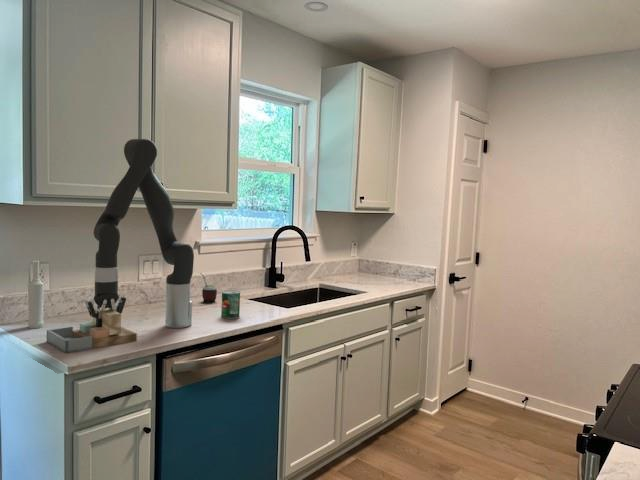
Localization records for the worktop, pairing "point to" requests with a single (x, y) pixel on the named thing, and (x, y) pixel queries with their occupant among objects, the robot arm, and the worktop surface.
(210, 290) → the mate gourd
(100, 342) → the board
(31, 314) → the bottle
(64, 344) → the box
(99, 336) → the tile
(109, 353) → the worktop surface
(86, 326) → the tile
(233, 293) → the canned tomato
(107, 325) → the cream wooden beam
